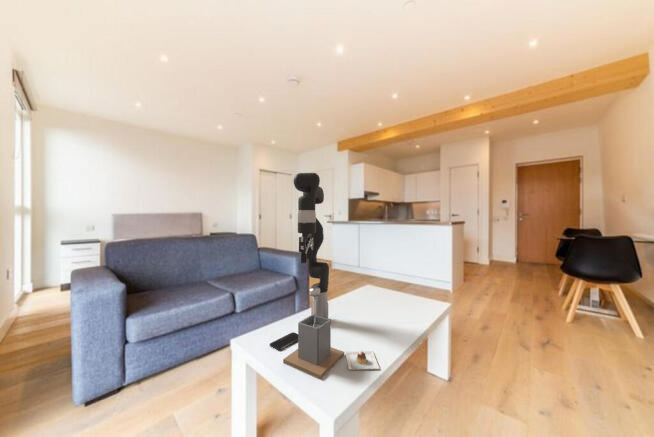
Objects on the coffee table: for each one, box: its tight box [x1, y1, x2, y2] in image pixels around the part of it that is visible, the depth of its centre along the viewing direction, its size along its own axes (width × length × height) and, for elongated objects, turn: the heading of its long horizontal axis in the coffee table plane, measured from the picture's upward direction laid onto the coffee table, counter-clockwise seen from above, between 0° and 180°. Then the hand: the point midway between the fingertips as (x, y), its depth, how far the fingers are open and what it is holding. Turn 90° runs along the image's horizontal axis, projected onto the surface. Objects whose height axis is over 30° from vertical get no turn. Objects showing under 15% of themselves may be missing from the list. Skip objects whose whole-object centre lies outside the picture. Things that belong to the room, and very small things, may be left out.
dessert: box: [344, 350, 381, 371], centre depth 96 cm, size 12×12×5 cm
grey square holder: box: [282, 315, 345, 380], centre depth 98 cm, size 18×18×16 cm
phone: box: [269, 332, 298, 352], centre depth 111 cm, size 8×1×15 cm
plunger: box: [309, 286, 321, 328], centre depth 98 cm, size 8×8×17 cm
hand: (306, 260), depth 97 cm, fingers open, 8 cm apart
